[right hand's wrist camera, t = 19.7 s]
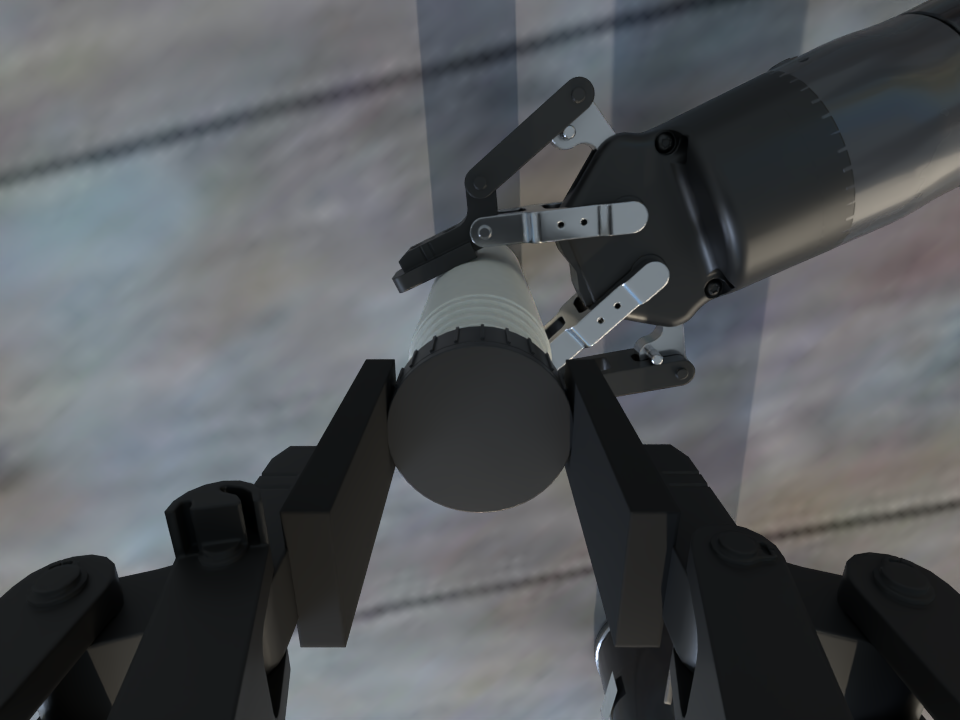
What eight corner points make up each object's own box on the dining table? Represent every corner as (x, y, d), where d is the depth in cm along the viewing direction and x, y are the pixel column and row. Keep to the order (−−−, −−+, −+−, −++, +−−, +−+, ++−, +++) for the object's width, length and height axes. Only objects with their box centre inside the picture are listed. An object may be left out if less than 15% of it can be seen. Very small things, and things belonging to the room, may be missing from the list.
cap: (370, 346, 14) (357, 369, 12) (547, 303, 13) (555, 321, 12) (421, 495, 16) (415, 530, 14) (581, 460, 15) (592, 493, 14)
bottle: (462, 332, 31) (441, 524, 15) (423, 260, 30) (352, 384, 13) (535, 297, 30) (600, 458, 14) (499, 221, 29) (524, 301, 12)
